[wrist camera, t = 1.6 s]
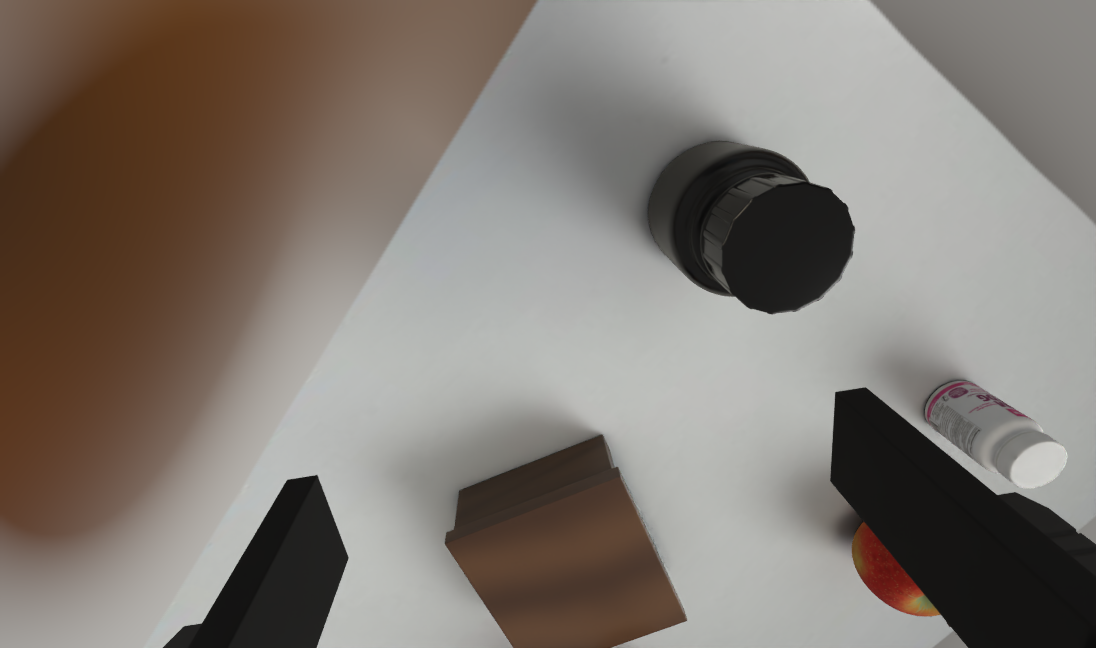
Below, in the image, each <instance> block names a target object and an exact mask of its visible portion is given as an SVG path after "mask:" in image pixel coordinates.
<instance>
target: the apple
mask: <svg viewBox="0 0 1096 648" xmlns="http://www.w3.org/2000/svg"><path fill="white" fill-rule="evenodd" d="M852 558H853V561H854V565H855V568H856V570H857V572H858V574H859V576H860V577H861V579H862V580H863V582H864V583H865V584H866V586H867V587H868V588H869V589H870V590H871V591H872V592H873V593H874V594H875V595H876V596H877V597H878V598H879V599H881V600H882V601H883V602H884V603H886V604H888V605H889V606H891V607H893V608H894V609H897V610H899V611H901V612H904V613H907V614H911V615H916V616H936V615H940V613H939V612H938V611H937V609H936V608H935V607H934V606H933V604H932V603H931V602H930V601H929V600H928V598H927V597H926V596H925V595H924V594H923V592H922V591H921V590H920V589H919V588H918V586H917V585H916V584H915V583H914V582H913V580H912V579H911V578H910V577H909V575H908V574H907V573H906V572H905V571H904V569H903V568H902V567H901V566H900V565H899V563H898V562H897V561H896V560H895V559H894V557H893V556H892V555H891V554H890V553H889V551H888V550H887V549H886V548H885V546H884V545H883V544H882V543H881V542H880V540H879V539H878V538H877V537H876V536H875V534H874V533H873V532H872V531H871V530H870V528H869V527H868V526H867V525H866V524H865V522H863V523H862V524H861V525H860V526H859V528H858V530H857V531H856V533H855V535H854V538H853V542H852ZM946 622H947V621H946ZM947 624H948V623H947ZM948 626H949V627H951V626H950V625H949V624H948Z"/></svg>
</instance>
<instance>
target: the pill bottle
mask: <svg viewBox="0 0 1096 648" xmlns="http://www.w3.org/2000/svg"><path fill="white" fill-rule="evenodd" d="M925 418H926V420H927V422H928V423H929V425H930V426H931V427H933V428H934V429H935V430H936V431H937V432H939V433H940V434H941V435H943V436H944V437H945V438H946V439H948V440H949V441H950V442H951V443H953V444H954V445H955V446H957V447H958V448H959V449H960V450H962V451H963V452H964V453H966V454H967V455H968V456H969V457H970V458H972V459H973V460H974V461H976V462H977V463H978V464H980V465H981V466H982V467H984V468H985V469H987V470H989V471H991V472H994V473H1000V474H1002V475H1003V476H1004V477H1005V478H1006V479H1008V480H1009V481H1011V482H1012V483H1013V484H1015V485H1016V486H1018V487H1021V488H1036V487H1040V486H1043V485H1045V484H1047V483H1049V482H1051V481H1052V480H1054V479H1055V478H1056V477H1057V476H1058V475H1059V474H1060V473H1061V471H1062V470H1063V469H1064V467H1065V464H1066V461H1067V452H1066V450H1065V448H1064V447H1063V446H1062V445H1061V444H1060V443H1058V442H1057V441H1055V440H1054V439H1053V438H1051V437H1050V436H1048V435H1047V434H1044V432H1043V430H1042V428H1041V427H1040V425H1039V424H1038V423H1036V422H1035V421H1034V420H1032V419H1031V418H1029V417H1027V416H1026V415H1024V414H1022V413H1021V412H1019V411H1017V410H1016V409H1014V408H1013V407H1011V406H1009V405H1008V404H1006V403H1004V402H1003V401H1001V400H1000V399H998V398H996V397H995V396H993V395H991V394H990V393H988V392H987V391H985V390H983V389H982V388H980V387H979V386H977V385H975V384H973V383H971V382H967V381H954V382H951V383H948V384H945V385H943V386H942V387H940V388H939V389H937V390H936V391H935V392H934V393H933V394H932V395H931V397H930V398H929V400H928V402H927V405H926V408H925Z"/></svg>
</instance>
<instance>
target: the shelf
mask: <svg viewBox="0 0 1096 648" xmlns="http://www.w3.org/2000/svg"><path fill="white" fill-rule="evenodd" d="M445 545H446V547H447V548H448V550H449V551H450V553H451V554H452V556H453V557H454V559H455V560H456V562H457V563H458V565H459V566H460V568H461V569H462V571H463V572H464V574H465V575H466V577H467V578H468V580H469V581H470V583H471V584H472V586H473V587H474V589H475V590H476V592H477V593H478V595H479V596H480V598H481V599H482V601H483V602H484V604H485V605H486V607H487V608H488V610H489V611H490V613H491V614H492V616H493V618H494V619H495V621H496V622H497V624H498V625H499V627H500V628H501V630H502V631H503V633H504V634H505V636H506V637H507V639H508V640H509V642H510V643H511V645H512V646H513V648H611V647H614V646H617V645H620V644H623V643H625V642H628V641H631V640H634V639H637V638H640V637H642V636H645V635H648V634H651V633H654V632H657V631H660V630H662V629H665V628H668V627H671V626H674V625H677V624H679V623H682V622H685V621H687V617H686V614H685V611H684V608H683V606H682V604H681V602H680V600H679V598H678V596H677V593H676V591H675V589H674V587H673V585H672V583H671V580H670V578H669V576H668V574H667V572H666V570H665V567H664V565H663V563H662V561H661V559H660V557H659V555H658V552H657V550H656V548H655V546H654V544H653V542H652V539H651V537H650V535H649V533H648V531H647V529H646V526H645V524H644V522H643V520H642V518H641V516H640V514H639V511H638V509H637V507H636V505H635V503H634V501H633V498H632V496H631V494H630V492H629V490H628V488H627V485H626V483H625V481H624V479H623V477H622V475H621V473H620V470H619V468H618V467H615V468H614V464H613V461H612V457H611V453H610V450H609V447H608V445H607V443H606V441H605V438H604V436H603V435H600V436H597V437H595V438H592V439H590V440H587V441H585V442H582V443H579V444H577V445H574V446H572V447H569V448H567V449H564V450H562V451H559V452H557V453H554V454H552V455H549V456H546V457H544V458H541V459H539V460H536V461H534V462H531V463H529V464H526V465H524V466H521V467H518V468H516V469H513V470H511V471H508V472H506V473H503V474H501V475H498V476H496V477H493V478H490V479H488V480H485V481H483V482H480V483H478V484H475V485H473V486H470V487H468V488H465V489H463V490H460V491H459V497H458V504H457V512H456V519H455V526H454V530H452V531H449V532H447V533H446V539H445Z"/></svg>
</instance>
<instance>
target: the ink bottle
mask: <svg viewBox="0 0 1096 648" xmlns="http://www.w3.org/2000/svg"><path fill="white" fill-rule="evenodd" d="M648 220H649V226H650V230H651V233H652V235H653V238H654V240H655V242H656V243H657V245H658V247H659V248H660V249H661V251H662V252H663V253H664V254H665V255H666V256H667V257H668V258H669V259H670V260H671V261H672V262H673V263H674V265H675V266H676V267H677V268H678V269H679V270H680V271H681V272H682V273H683V274H684V275H685V276H686V277H687V278H688V279H689V280H691V281H692V282H693V283H694V284H696V285H697V286H699V287H701V288H702V289H704V290H706V291H709V292H711V293H714V294H717V295H722V296H729V297H736V298H737V299H738V300H740V301H741V302H742V303H743V304H744V305H745V306H746V307H748V308H750V309H756V310H759V311H763V312H767V313H768V314H776V313H783V312H790V311H793V312H795V311H799V310H800V309H801V308H803V307H805V306H807V305H809V304H811V303H813V302H815V301H819V300H820V299H822V298H823V297H824V295H825V294H826V293H827V292H828V291H829V290H830V289H831V288H832V287H833V286H834V285H835V284H836V283H838V282H839V281H840V279H841V278H842V274H843V272H844V270H845V268H846V266H847V264H848V262H849V260H850V259H851V258H852V255H853V251H852V249H853V240H854V234H855V227H854V226H853V224H852V220H851V217H850V214H849V212H848V207H847V205H846V204H845V203H843V202H842V201H841V200H840V199H839V198H838V197H837V196H836V195H835V194H834V193H833V192H832V190H831V189H829V188H827V187H823V186H820V185H816V184H813V183H810V182H809V180H808V178H807V177H806V175H805V174H804V173H803V171H802V170H801V169H800V168H799V167H798V166H797V165H796V164H795V163H794V162H792V161H791V160H790V159H788V158H786V157H785V156H783V155H781V154H779V153H777V152H774V151H771V150H768V149H764V148H759V147H754V146H749V145H744V144H739V143H734V142H728V141H712V142H706V143H703V144H700V145H697V146H695V147H692V148H690V149H689V150H687V151H685V152H684V153H682V154H681V155H679V156H678V157H677V158H675V159H674V160H673V161H672V162H671V163H670V164H669V165H668V166H667V167H666V169H665V170H664V171H663V172H662V174H661V175H660V177H659V178H658V180H657V182H656V184H655V186H654V188H653V190H652V193H651V196H650V200H649V206H648Z"/></svg>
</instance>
